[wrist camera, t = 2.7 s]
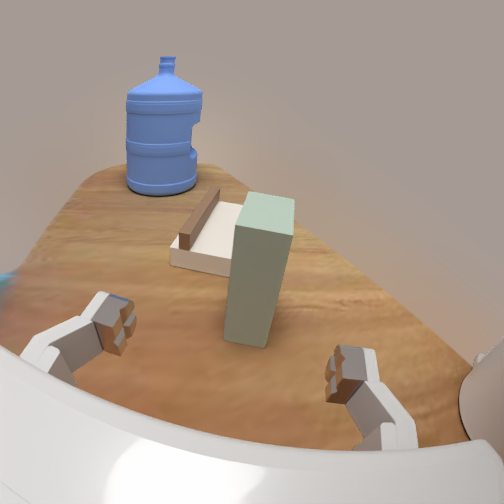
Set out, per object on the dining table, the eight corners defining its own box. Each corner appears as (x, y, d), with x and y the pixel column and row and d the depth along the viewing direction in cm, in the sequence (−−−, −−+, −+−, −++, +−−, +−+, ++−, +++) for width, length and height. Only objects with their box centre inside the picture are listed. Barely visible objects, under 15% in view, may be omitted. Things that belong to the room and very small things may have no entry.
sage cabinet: (271, 299, 37) (294, 196, 29) (264, 348, 31) (292, 235, 23) (236, 293, 37) (250, 188, 29) (223, 340, 31) (235, 224, 23)
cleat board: (268, 225, 53) (273, 197, 50) (257, 282, 39) (263, 248, 36) (202, 213, 53) (204, 185, 50) (170, 265, 40) (169, 230, 37)
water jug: (146, 204, 54) (150, 54, 38) (116, 180, 62) (117, 59, 46) (210, 187, 64) (223, 58, 48) (172, 167, 72) (180, 58, 56)
